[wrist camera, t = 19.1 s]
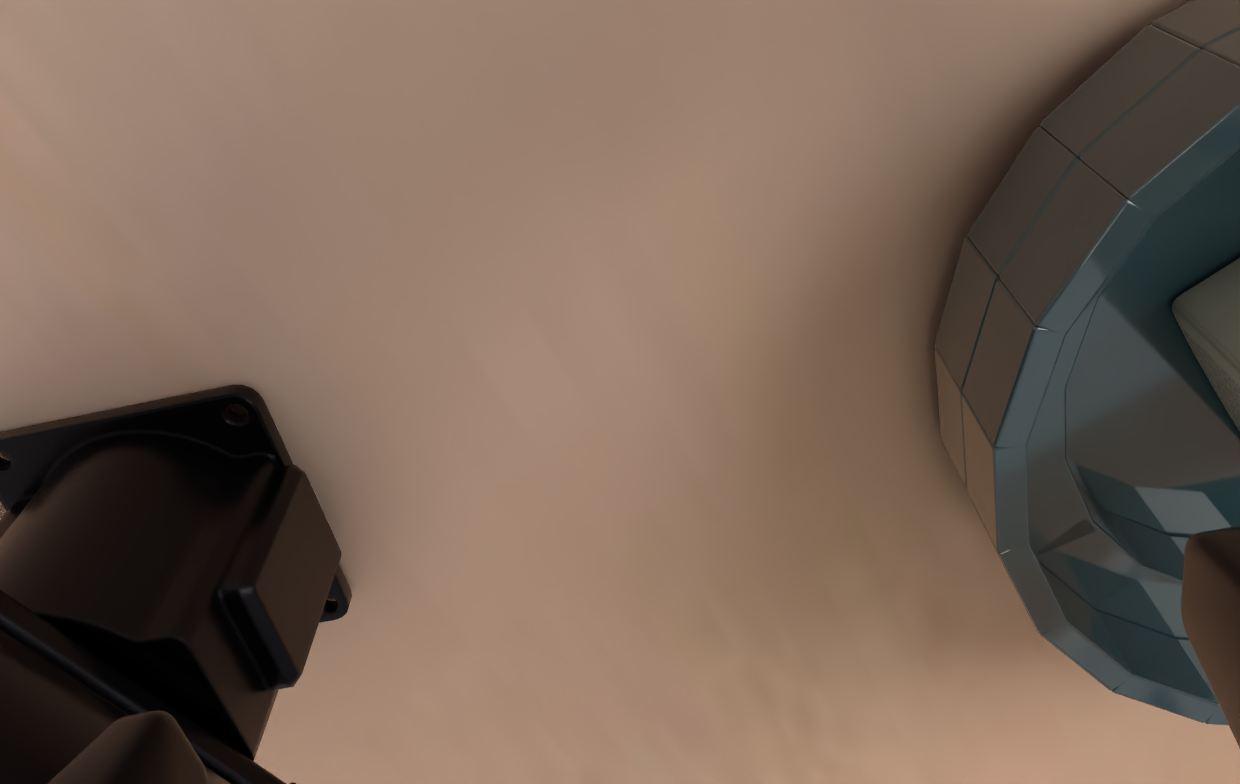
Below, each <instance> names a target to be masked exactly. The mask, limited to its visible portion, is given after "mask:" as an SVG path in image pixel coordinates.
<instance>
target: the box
mask: <svg viewBox="0 0 1240 784" xmlns="http://www.w3.org/2000/svg"><path fill="white" fill-rule="evenodd" d="M1172 311H1173V313H1174V316H1175V318H1176V320H1177V322H1178V324H1179V326H1180V328H1181V330H1182V332H1183V334H1184V336H1185V338H1186V340H1187V342H1188V344H1189V346H1190V347H1191V349H1192V351H1193V353H1194V355H1195V357H1196V358H1197V360H1198V362H1199V364H1200V365H1201V367H1202V369H1203V371H1204V372H1205V374H1206V376H1207V378H1208V379H1209V381H1210V383H1211V385H1212V387H1213V388H1214V390H1215V392H1216V393H1217V395H1218V397H1219V398H1220V400H1221V402H1222V403H1223V405H1224V407H1225V408H1226V410H1227V412H1228V413H1229V415H1230V417H1231V418H1232V420H1233V421H1234V423H1235V425H1236V426H1237V428H1238V430H1239V431H1240V258H1239V259H1237V260H1235V261H1234V262H1232V263H1231V264H1229V265H1227V266H1226V267H1224V268H1223V269H1221V270H1219V271H1218V272H1216V273H1215V274H1213V275H1212V276H1210V277H1209V278H1207V279H1205V280H1204V281H1202V282H1201V283H1199V284H1197V285H1196V286H1194V287H1193V288H1191V289H1189V290H1188V291H1186V292H1184V293H1183V294H1181V295H1180V296H1179V297H1177V298H1176V299H1175V300H1174V302H1173V304H1172Z"/></svg>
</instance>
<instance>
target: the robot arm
mask: <svg viewBox="0 0 1240 784" xmlns="http://www.w3.org/2000/svg"><path fill="white" fill-rule="evenodd" d="M231 404H238V405H240V406H242V407H244V408H245V409H246V410H247V412H248V414H239V413H237V412H235V411H234V410H233V409H232V408H231V406H230V405H231ZM0 453H2V454H5V455H6V456H7V457H8V458H9V459H10V461H8V460H5V459H3V458H1V457H0V501H1V502H2V504H3V505H4V507H5V508H6V510H7V513H6V514H5V515H4V516H3V518H2V519H1V520H0V784H286V783H284V782H283V781H282V780H280V779H279V778H277V777H276V776H274V775H273V774H271V773H270V772H268V771H267V770H265V769H264V768H262V767H261V766H259V765H258V764H257V763H255V762H254V758H255V755H256V752H257V750H258V747H259V744H260V741H261V738H262V735H263V733H264V730H265V727H266V724H267V721H268V718H269V716H270V713H271V710H272V707H273V704H274V701H275V698H276V696H277V693H278V690H279V689H282V688H288V687H294V685H295V683H296V682H297V680H298V679H299V677H300V676H301V674H302V672H303V669H304V666H305V663H306V660H307V657H308V654H309V651H310V648H311V645H312V642H313V639H314V636H315V633H316V630H317V627H318V624H319V622H325V621H331V620H336V619H338V618H341V617H343V616H344V615H345V614H346V613H347V610H348V607H349V604H350V601H351V597H352V594H351V589H350V587H349V585H348V583H347V581H346V578H345V576H344V574H343V572H342V570H341V567H340V565H339V561H340V558H341V551H340V548H339V546H338V544H337V542H336V540H335V537H334V535H333V533H332V531H331V529H330V526H329V524H328V522H327V520H326V518H325V515H324V513H323V511H322V509H321V507H320V504H319V502H318V500H317V498H316V496H315V493H314V491H313V489H312V487H311V485H310V482H309V480H308V478H307V476H306V474H305V472H304V471H303V470H301V469H300V468H299V467H297V466H296V465H294V464H293V463H292V461H291V459H290V456H289V454H288V452H287V450H286V448H285V445H284V443H283V441H282V439H281V437H280V435H279V432H278V430H277V428H276V426H275V424H274V422H273V419H272V417H271V415H270V413H269V411H268V408H267V406H266V404H265V402H264V400H263V398H262V397H261V396H260V394H259V393H258V392H256V391H255V390H254V389H252V388H250V387H247V386H244V385H231V386H226V387H221V388H216V389H211V390H206V391H201V392H196V393H191V394H186V395H181V396H176V397H171V398H166V399H161V400H156V401H151V402H146V403H141V404H136V405H131V406H126V407H121V408H116V409H112V410H107V411H102V412H97V413H92V414H87V415H82V416H77V417H72V418H67V419H62V420H57V421H52V422H47V423H42V424H37V425H32V426H27V427H22V428H17V429H12V430H7V431H2V432H0ZM327 597H331V598H333V599H335V600H336V601H328V600H327ZM1181 616H1182V621H1183V625H1184V628H1185V631H1186V634H1187V636H1188V639H1189V641H1190V643H1191V645H1192V647H1193V649H1194V651H1195V654H1196V656H1197V658H1198V660H1199V662H1200V664H1201V666H1202V668H1203V671H1204V673H1205V675H1206V677H1207V679H1208V681H1209V683H1210V686H1211V688H1212V690H1213V692H1214V694H1215V696H1216V698H1217V701H1218V703H1219V705H1220V707H1221V709H1222V711H1223V713H1224V716H1225V718H1226V720H1227V722H1228V724H1229V726H1230V728H1231V731H1232V733H1233V735H1234V737H1235V739H1236V741H1237V743H1238V745H1239V748H1240V527H1228V528H1223V529H1217V530H1211V531H1205V532H1199V533H1196V534H1194V535H1192V536H1191V537H1190V538H1189V539H1188V541H1187V543H1186V547H1185V554H1184V567H1183V581H1182V594H1181ZM290 784H296V783H290Z"/></svg>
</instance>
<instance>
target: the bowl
mask: <svg viewBox="0 0 1240 784" xmlns="http://www.w3.org/2000/svg"><path fill="white" fill-rule="evenodd" d="M1239 258H1240V0H1192V1H1190V2H1188V3H1186V4H1184V5H1182V6H1180V7H1179V8H1177V9H1175V10H1173V11H1171V12H1169V13H1167V14H1165V15H1164V16H1162V17H1160V18H1158V19H1156V20H1154V21H1153V22H1152V24H1151V25H1150V24H1149V25H1147V26H1145V27H1144V28H1143V29H1142V30H1141V31H1140V32H1139V33H1138V34H1136V35H1135V36H1134V37H1133V38H1132V39H1131V40H1130V41H1129V42H1128V43H1127V44H1125V45H1124V46H1123V47H1122V48H1121V49H1120V50H1119V51H1118V52H1117V53H1116V54H1114V55H1113V56H1112V57H1111V58H1110V59H1109V60H1108V61H1107V62H1106V63H1105V64H1103V65H1102V66H1101V67H1100V68H1099V69H1098V70H1097V71H1096V72H1095V73H1094V74H1092V75H1091V76H1090V77H1089V78H1088V79H1087V80H1086V81H1085V82H1084V83H1083V84H1081V85H1080V86H1079V87H1078V88H1077V89H1076V90H1075V91H1074V92H1073V93H1072V94H1070V95H1069V96H1068V97H1067V98H1066V99H1065V100H1064V101H1063V102H1062V103H1061V104H1060V105H1058V106H1057V107H1056V108H1055V109H1054V110H1053V111H1052V112H1051V113H1050V114H1049V115H1047V116H1046V117H1045V118H1044V119H1043V120H1042V121H1041V122H1040V126H1038V127H1037V128H1035V130H1034V132H1033V133H1032V135H1031V136H1030V138H1029V139H1028V141H1027V142H1026V144H1025V145H1024V147H1023V149H1022V150H1021V152H1020V153H1019V155H1018V156H1017V158H1016V159H1015V161H1014V162H1013V164H1012V166H1011V167H1010V169H1009V170H1008V172H1007V173H1006V175H1005V176H1004V178H1003V179H1002V181H1001V183H1000V184H999V186H998V187H997V189H996V190H995V192H994V193H993V195H992V196H991V198H990V200H989V201H988V203H987V204H986V206H985V207H984V209H983V210H982V212H981V213H980V215H979V217H978V218H977V220H976V221H975V223H974V224H973V226H972V227H971V229H970V231H969V232H968V236H967V237H965V238H964V242H963V245H962V249H961V252H960V256H959V259H958V263H957V266H956V270H955V273H954V277H953V280H952V284H951V287H950V291H949V294H948V298H947V301H946V305H945V308H944V312H943V315H942V319H941V322H940V326H939V329H938V333H937V336H936V340H935V362H936V375H937V389H938V403H939V417H940V430H941V439H942V443H943V445H944V447H945V449H946V451H947V453H948V455H949V457H950V459H951V461H952V463H953V465H954V467H955V469H956V471H957V473H958V475H959V477H960V479H961V481H962V483H963V485H964V487H965V489H966V491H967V493H968V495H969V497H970V499H971V501H972V503H973V505H974V507H975V509H976V511H977V513H978V515H979V517H980V519H981V521H982V523H983V525H984V527H985V529H986V531H987V533H988V535H989V537H990V539H991V541H992V543H993V545H994V548H995V550H996V552H997V554H998V555H999V557H1000V559H1001V561H1002V563H1003V565H1004V567H1005V569H1006V571H1007V573H1008V575H1009V577H1010V579H1011V581H1012V583H1013V585H1014V587H1015V589H1016V591H1017V593H1018V594H1019V596H1020V598H1021V600H1022V602H1023V604H1024V606H1025V608H1026V610H1027V612H1028V614H1029V616H1030V618H1031V620H1032V622H1033V624H1034V626H1035V628H1036V630H1037V632H1038V633H1040V635H1041V636H1042V637H1044V638H1045V639H1046V640H1047V641H1049V642H1050V643H1051V644H1052V645H1054V646H1055V647H1056V648H1057V649H1059V650H1060V651H1061V652H1062V653H1064V654H1065V655H1066V656H1067V657H1069V658H1070V659H1071V660H1072V661H1074V662H1075V663H1076V664H1077V665H1079V666H1080V667H1081V668H1082V669H1084V670H1085V671H1086V672H1087V673H1089V674H1090V675H1091V676H1092V677H1094V678H1095V679H1096V680H1097V681H1099V682H1100V683H1101V684H1102V685H1104V686H1105V687H1106V688H1107V689H1109V690H1111V691H1112V692H1114V693H1116V694H1119V695H1122V696H1125V697H1128V698H1131V699H1134V700H1137V701H1140V702H1143V703H1146V704H1149V705H1152V706H1155V707H1157V708H1160V709H1163V710H1166V711H1169V712H1172V713H1175V714H1178V715H1181V716H1184V717H1187V718H1190V719H1193V720H1196V721H1199V722H1201V723H1206V724H1216V725H1229V724H1228V722H1227V720H1226V718H1225V716H1224V713H1223V711H1222V709H1221V707H1220V705H1219V703H1218V701H1217V698H1216V696H1215V694H1214V692H1213V690H1212V688H1211V686H1210V683H1209V681H1208V679H1207V677H1206V675H1205V673H1204V671H1203V668H1202V666H1201V664H1200V662H1199V660H1198V658H1197V656H1196V654H1195V651H1194V649H1193V647H1192V645H1191V643H1190V641H1189V639H1188V636H1187V634H1186V631H1185V628H1184V625H1183V621H1182V616H1181V594H1182V581H1183V567H1184V554H1185V547H1186V543H1187V541H1188V539H1189V538H1190V537H1191V536H1192V535H1194V534H1196V533H1199V532H1205V531H1211V530H1217V529H1223V528H1228V527H1240V431H1239V430H1238V428H1237V426H1236V425H1235V423H1234V421H1233V420H1232V418H1231V417H1230V415H1229V413H1228V412H1227V410H1226V408H1225V407H1224V405H1223V403H1222V402H1221V400H1220V398H1219V397H1218V395H1217V393H1216V392H1215V390H1214V388H1213V387H1212V385H1211V383H1210V381H1209V379H1208V378H1207V376H1206V374H1205V372H1204V371H1203V369H1202V367H1201V365H1200V364H1199V362H1198V360H1197V358H1196V357H1195V355H1194V353H1193V351H1192V349H1191V347H1190V346H1189V344H1188V342H1187V340H1186V338H1185V336H1184V334H1183V332H1182V330H1181V328H1180V326H1179V324H1178V322H1177V320H1176V318H1175V316H1174V313H1173V311H1172V304H1173V302H1174V300H1175V299H1176V298H1177V297H1179V296H1180V295H1181V294H1183V293H1184V292H1186V291H1188V290H1189V289H1191V288H1193V287H1194V286H1196V285H1197V284H1199V283H1201V282H1202V281H1204V280H1205V279H1207V278H1209V277H1210V276H1212V275H1213V274H1215V273H1216V272H1218V271H1219V270H1221V269H1223V268H1224V267H1226V266H1227V265H1229V264H1231V263H1232V262H1234V261H1235V260H1237V259H1239Z"/></svg>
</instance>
